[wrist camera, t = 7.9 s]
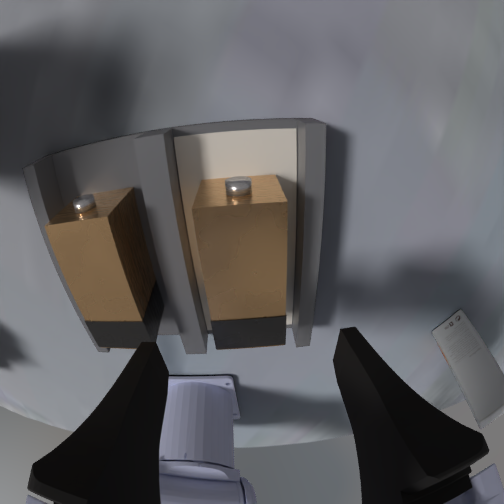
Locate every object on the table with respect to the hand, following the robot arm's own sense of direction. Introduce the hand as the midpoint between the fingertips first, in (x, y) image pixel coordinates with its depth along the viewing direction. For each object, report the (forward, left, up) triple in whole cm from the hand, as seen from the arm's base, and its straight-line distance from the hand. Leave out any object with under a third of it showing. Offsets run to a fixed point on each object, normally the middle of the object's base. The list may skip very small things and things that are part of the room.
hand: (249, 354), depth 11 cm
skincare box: (-13, -22, -9) cm, 27 cm away
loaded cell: (0, +8, -8) cm, 11 cm away
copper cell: (0, 0, -8) cm, 8 cm away
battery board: (0, +4, -9) cm, 10 cm away
